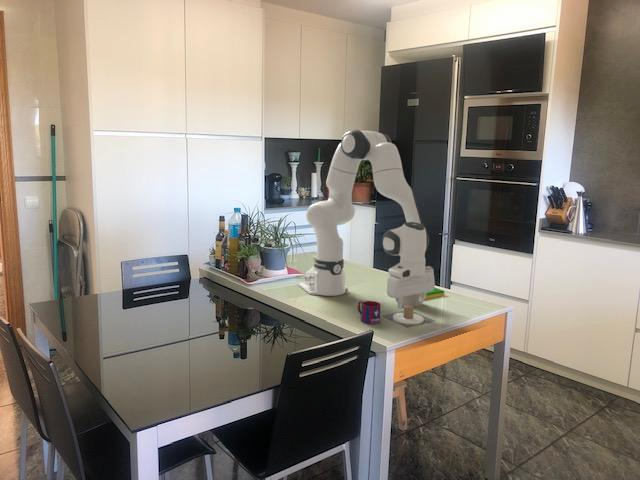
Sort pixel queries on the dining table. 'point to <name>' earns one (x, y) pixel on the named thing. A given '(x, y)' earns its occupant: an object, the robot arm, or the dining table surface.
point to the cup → (370, 312)
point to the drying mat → (390, 317)
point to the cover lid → (408, 316)
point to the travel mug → (411, 300)
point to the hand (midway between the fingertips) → (410, 306)
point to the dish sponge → (434, 293)
